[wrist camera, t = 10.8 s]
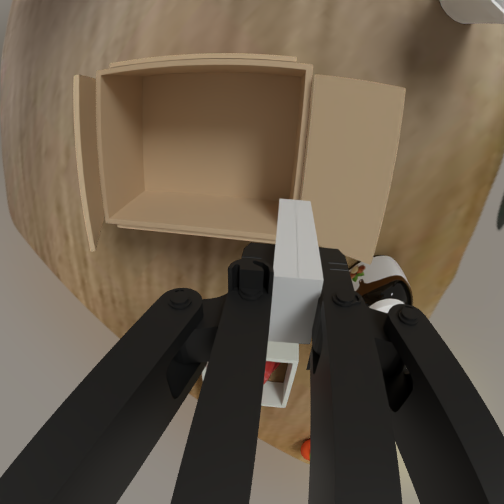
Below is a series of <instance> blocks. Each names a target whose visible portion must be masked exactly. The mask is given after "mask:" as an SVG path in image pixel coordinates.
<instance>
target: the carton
mask: <svg viewBox="0 0 504 504" xmlns="http://www.w3.org/2000/svg"><path fill="white" fill-rule="evenodd" d="M296 62H297V57H291V56H280V55H266V54H244V53H207V54H185V55H171V56H160V57H150V58H142V59H135V60H128V61H121V62H115V63H110V64H109V69H103V70H98V71H96V123H97V145H98V159H99V171H100V182H101V191H102V199H103V207H104V214H105V221H106V223H111V224H117V226H118V228H128V229H139V230H149V231H159V232H169V233H179V234H188V235H198V236H208V237H217V238H227V239H236V240H245V241H255V242H264V243H273V244H276V233H277V222H278V211H279V199H292V200H299V198H300V190H301V182H302V174H303V165H304V157H305V148H306V138H307V129H308V119H309V108H310V98H311V86H312V74H313V65H312V64H304V63H296Z"/></svg>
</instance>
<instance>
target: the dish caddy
mask: <svg viewBox="0 0 504 504" xmlns="http://www.w3.org/2000/svg"><path fill="white" fill-rule="evenodd" d="M266 361H273V362H283V363H288V366H287V370H286V374H285V379H284V383H280V382H270V381H267V382H266V383H265V384H264V385H263V394H262V403H261V406H270V407H281V408H285V407H286V404H287V401H288V397H289V394H290V390H291V387H292V383H293V380H294V376H295V372H296V369H297V365H298V361H299V343H285V342H273V341H268V346H267V356H266ZM207 365H208V362H207ZM207 365H206V367H205V368H204V370H203V371H202V378H203V380H204V376H205V373H206V369H207Z"/></svg>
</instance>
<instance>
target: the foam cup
mask: <svg viewBox="0 0 504 504" xmlns="http://www.w3.org/2000/svg"><path fill="white" fill-rule="evenodd" d="M439 1H440V4H441V7H442V8H443V9H444V11H445V12H446V14H447V15H448V16H450V17H451V18H452V19H453V20H454V21H457V22H459V23H462V24H477V23H498V24H504V0H439Z"/></svg>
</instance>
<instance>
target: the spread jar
mask: <svg viewBox="0 0 504 504" xmlns="http://www.w3.org/2000/svg"><path fill="white" fill-rule="evenodd" d="M349 272H350V276H351V280H352V283H353V287H354V291H356V292H357V293H359V294H360V295H361V296H362V298H363V299H364V301H365V304H366V306H368V307H369V308H372V309H375V310H378V311H382V312H385V313H388V312H389V309H390V308H391V307H392V306H394V305H397V304H408V305H411V306H412V305H413V296H412V291H411V288H410V285H409V283H408V280H407V278H406V276H405V275H404V273H403V271H402V269H401V268H400V266H399V265H398V263H397V262H396V261H395V260H394V259H392V258H391V257H389V256H385V255H376V256H373V259H372V263H371V264H370V265H369V264H366V263H364V262H361V261H358V262H357V263H355V264H354V265H353V266H352V267H351V268H350V269H349Z"/></svg>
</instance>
